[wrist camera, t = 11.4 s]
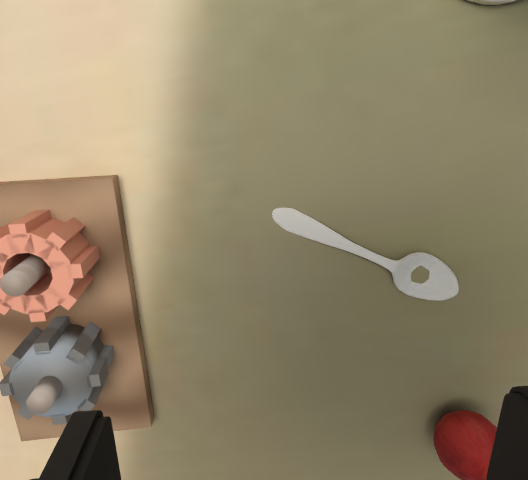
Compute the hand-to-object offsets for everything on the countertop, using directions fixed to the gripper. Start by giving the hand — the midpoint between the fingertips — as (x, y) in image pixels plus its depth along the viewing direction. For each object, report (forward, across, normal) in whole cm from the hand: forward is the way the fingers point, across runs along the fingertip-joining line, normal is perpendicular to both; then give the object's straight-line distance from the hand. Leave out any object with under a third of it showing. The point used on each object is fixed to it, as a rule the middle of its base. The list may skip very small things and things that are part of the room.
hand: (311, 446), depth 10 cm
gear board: (+24, +16, +9) cm, 30 cm away
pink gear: (+22, +16, +3) cm, 27 cm away
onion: (+24, -19, +23) cm, 38 cm away
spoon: (+25, -8, +4) cm, 27 cm away
